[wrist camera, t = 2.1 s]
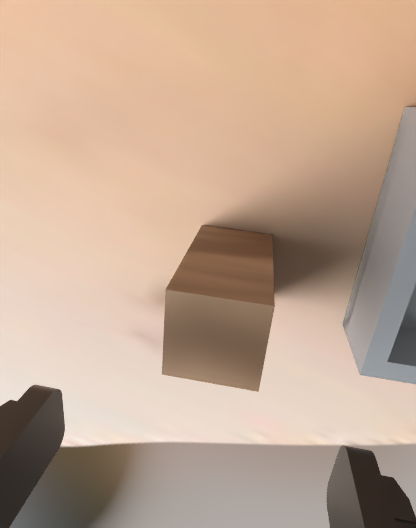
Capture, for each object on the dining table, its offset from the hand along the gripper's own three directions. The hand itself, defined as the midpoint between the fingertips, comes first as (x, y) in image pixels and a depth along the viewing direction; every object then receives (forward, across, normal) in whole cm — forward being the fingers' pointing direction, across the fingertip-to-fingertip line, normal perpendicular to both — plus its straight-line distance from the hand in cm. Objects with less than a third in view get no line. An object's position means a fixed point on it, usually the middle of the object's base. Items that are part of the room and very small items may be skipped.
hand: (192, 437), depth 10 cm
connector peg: (+12, 0, 0) cm, 12 cm away
